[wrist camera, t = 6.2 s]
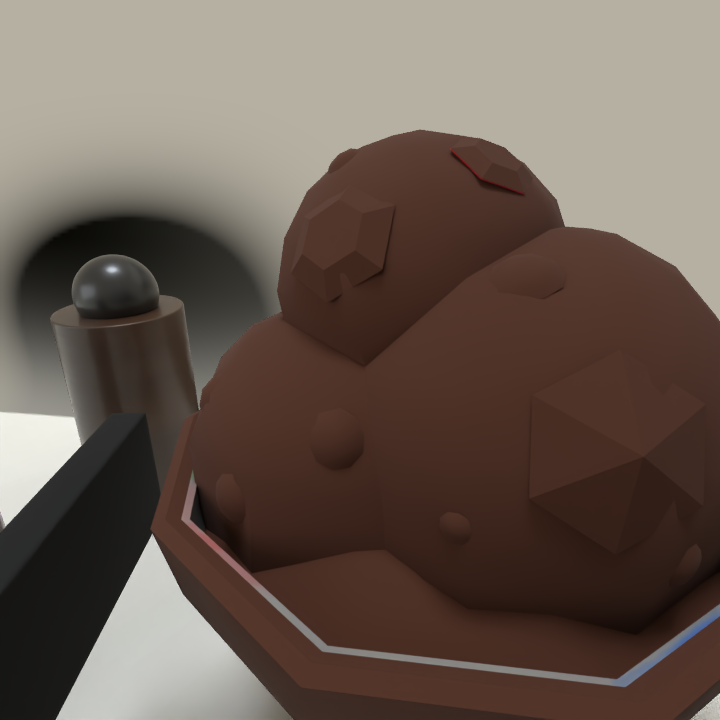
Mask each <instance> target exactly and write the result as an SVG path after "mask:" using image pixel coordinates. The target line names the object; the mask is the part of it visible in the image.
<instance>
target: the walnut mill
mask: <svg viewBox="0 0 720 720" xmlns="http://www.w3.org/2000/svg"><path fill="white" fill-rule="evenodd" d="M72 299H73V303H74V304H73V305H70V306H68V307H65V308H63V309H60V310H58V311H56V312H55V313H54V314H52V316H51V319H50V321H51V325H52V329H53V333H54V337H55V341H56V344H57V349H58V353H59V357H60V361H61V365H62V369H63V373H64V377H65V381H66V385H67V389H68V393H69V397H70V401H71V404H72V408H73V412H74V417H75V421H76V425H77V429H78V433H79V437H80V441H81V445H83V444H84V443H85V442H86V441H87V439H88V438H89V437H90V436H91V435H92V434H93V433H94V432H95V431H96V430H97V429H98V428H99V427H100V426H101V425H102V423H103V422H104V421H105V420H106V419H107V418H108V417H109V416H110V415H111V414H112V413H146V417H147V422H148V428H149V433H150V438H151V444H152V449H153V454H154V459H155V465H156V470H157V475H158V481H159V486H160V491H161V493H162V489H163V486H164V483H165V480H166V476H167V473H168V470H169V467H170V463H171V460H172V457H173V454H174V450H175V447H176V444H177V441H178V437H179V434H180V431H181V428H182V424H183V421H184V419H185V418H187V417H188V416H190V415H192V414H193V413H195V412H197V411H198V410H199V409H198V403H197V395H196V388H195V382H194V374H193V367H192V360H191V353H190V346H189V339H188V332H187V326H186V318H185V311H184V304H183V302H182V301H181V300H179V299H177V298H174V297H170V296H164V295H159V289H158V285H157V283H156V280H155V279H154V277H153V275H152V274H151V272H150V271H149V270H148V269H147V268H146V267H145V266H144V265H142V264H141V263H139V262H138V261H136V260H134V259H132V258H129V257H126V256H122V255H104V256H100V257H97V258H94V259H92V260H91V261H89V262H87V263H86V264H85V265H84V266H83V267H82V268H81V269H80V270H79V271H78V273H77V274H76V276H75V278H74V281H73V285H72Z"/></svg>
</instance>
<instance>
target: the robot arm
mask: <svg viewBox="0 0 720 720" xmlns="http://www.w3.org/2000/svg"><path fill="white" fill-rule="evenodd" d="M160 496H161V491H160V486H159V481H158V475H157V470H156V465H155V459H154V454H153V449H152V444H151V438H150V433H149V428H148V422H147V417H146V413H112V414H111V415H110V416H109V417H108V418H107V419H106V420H105V421H104V422H103V423H102V425H101V426H100V427H99V428H98V429H97V430H96V431H95V432H94V433H93V434H92V435H91V436H90V437H89V438H88V439H87V441H86V442H85V443H84V444H83V445H82V446H81V447H80V448H79V449H78V450H77V451H76V452H75V453H74V454H73V456H72V457H71V458H70V459H69V460H68V461H67V462H66V463H65V464H64V465H63V466H62V467H61V468H60V469H59V470H58V472H57V473H56V474H55V475H54V476H53V477H52V478H51V479H50V480H49V481H48V482H47V483H46V484H45V485H44V486H43V488H42V489H41V490H40V491H39V492H38V493H37V494H36V495H35V496H34V497H33V498H32V499H31V500H30V501H29V503H28V504H27V505H26V506H25V507H24V508H23V509H22V510H21V511H20V512H19V513H18V514H17V515H16V516H15V517H14V519H13V520H12V521H11V522H10V523H9V524H8V525H7V526H6V527H5V528H4V529H3V530H2V531H1V532H0V720H56V718H57V716H58V714H59V712H60V710H61V708H62V706H63V704H64V702H65V700H66V699H67V697H68V695H69V693H70V691H71V689H72V687H73V685H74V683H75V681H76V679H77V677H78V675H79V674H80V672H81V670H82V668H83V666H84V664H85V662H86V660H87V658H88V656H89V654H90V652H91V650H92V649H93V647H94V645H95V643H96V641H97V639H98V637H99V635H100V633H101V631H102V629H103V627H104V625H105V624H106V622H107V620H108V618H109V616H110V614H111V612H112V610H113V608H114V606H115V604H116V602H117V600H118V598H119V597H120V595H121V593H122V591H123V589H124V587H125V585H126V583H127V581H128V579H129V577H130V575H131V573H132V572H133V570H134V568H135V566H136V564H137V562H138V560H139V558H140V556H141V554H142V552H143V550H144V548H145V547H146V545H147V543H148V541H149V539H150V537H151V535H152V532H151V530H150V528H151V525H152V522H153V519H154V515H155V512H156V509H157V506H158V502H159V499H160Z"/></svg>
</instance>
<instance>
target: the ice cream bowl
mask: <svg viewBox="0 0 720 720" xmlns="http://www.w3.org/2000/svg"><path fill="white" fill-rule="evenodd" d="M277 292H278V297H279V301H280V305H281V310H282V312H280V313H278V314H276V315H274V316H271V317H269V318H267V319H264V320H263V321H260V322H258V323H255V324H253V325H252V326H251V327H250V328H249V329H248V330H247V331H246V332H245V333H244V334H243V335H242V336H241V337H240V338H239V339H238V340H237V341H236V342H235V343H234V345H233V346H232V347H231V348H230V349H229V350H228V351H227V352H226V353H225V354H224V355H223V356H222V357H221V359H220V362H219V364H218V367H217V369H216V372H215V374H214V376H213V378H212V379H211V380H210V381H209V382H208V383H207V385H206V386H205V387H204V388H203V389H202V395H201V400H200V408H201V409H200V410H198V411H197V412H195V413H193V414H192V415H190V416H188V417H187V418H185V419H184V421H183V424H182V428H181V431H180V434H179V437H178V441H177V444H176V447H175V450H174V454H173V457H172V460H171V463H170V467H169V470H168V473H167V476H166V480H165V483H164V486H163V489H162V493H161V496H160V499H159V502H158V506H157V509H156V512H155V515H154V519H153V522H152V525H151V528H150V530H151V532H152V534H153V535H154V537H155V539H156V541H157V543H158V545H159V547H160V549H161V551H162V553H163V555H164V557H165V559H166V561H167V563H168V565H169V567H170V569H171V571H172V573H173V575H174V577H175V579H176V581H177V583H178V585H179V587H180V589H181V591H182V593H183V595H184V596H185V597H186V598H187V599H188V600H189V601H190V603H191V604H192V605H193V606H194V607H195V608H196V609H197V610H198V612H199V613H200V614H201V615H202V616H203V617H204V618H205V620H206V621H207V622H208V623H209V624H210V625H211V626H212V627H213V629H214V630H215V631H216V632H217V633H218V634H219V635H220V637H221V638H222V639H223V640H224V641H225V642H226V643H227V644H228V646H229V647H230V648H231V649H232V650H233V651H234V652H235V653H236V655H237V656H238V657H239V658H240V659H241V660H242V661H243V663H244V664H245V665H246V666H247V667H248V668H249V669H250V670H251V672H252V673H253V674H254V675H255V676H256V677H257V678H258V680H259V681H260V682H261V683H262V684H263V685H264V686H265V687H266V689H267V690H268V691H269V692H270V693H271V694H272V695H273V696H274V698H275V699H276V700H277V701H278V702H279V703H280V704H281V706H282V707H283V708H284V709H285V710H286V711H287V712H288V713H289V715H290V716H291V717H292V718H293V719H294V720H690V719H691V718H692V717H693V716H694V715H695V714H697V713H698V712H699V711H700V710H701V709H702V708H703V707H704V706H706V705H707V704H708V703H709V702H710V701H711V700H712V699H714V698H715V697H716V696H717V695H718V694H719V693H720V321H719V319H718V318H717V317H716V315H715V314H714V313H713V312H712V310H711V309H710V308H709V307H708V305H707V304H706V303H705V302H704V301H703V299H702V298H701V297H700V296H699V295H698V293H697V292H696V291H695V290H694V288H693V287H692V286H691V285H690V284H689V282H688V281H687V280H686V279H685V277H684V276H683V275H682V274H681V273H680V271H679V270H678V269H677V268H676V267H675V266H674V265H672V264H670V263H668V262H666V261H664V260H663V259H661V258H659V257H657V256H655V255H654V254H652V253H650V252H648V251H646V250H645V249H643V248H641V247H639V246H637V245H635V244H634V243H632V242H630V241H628V240H627V239H625V238H623V237H621V236H619V235H618V234H614V233H609V232H604V231H599V230H594V229H588V228H575V227H565V226H564V222H563V219H562V216H561V213H560V209H559V206H558V203H557V200H556V199H555V197H554V196H553V195H552V194H551V193H550V192H549V191H548V190H547V188H546V187H545V186H544V185H543V184H542V183H541V182H540V181H539V179H538V178H537V177H536V176H535V175H534V174H533V173H532V172H531V170H530V169H529V168H528V167H527V166H526V165H525V164H524V163H523V162H521V161H519V160H518V159H516V157H514V156H513V155H512V154H511V153H510V152H508V150H507V149H506V148H504V147H502V146H499V145H496V144H494V143H491V142H489V141H486V140H483V139H480V138H472V137H466V136H460V135H453V134H446V133H439V132H433V131H425V130H416V131H412V132H407V133H403V134H398V135H393V136H391V137H388V138H385V139H382V140H380V141H377V142H374V143H371V144H369V145H366V146H363V147H361V148H359V149H349V150H347V151H345V152H343V153H341V154H339V155H338V156H337V157H336V158H335V159H334V160H333V161H332V163H331V164H330V166H329V170H328V172H327V173H326V174H325V175H324V176H323V177H322V178H321V179H320V180H319V181H318V182H317V183H316V184H314V185H313V186H312V187H311V188H310V189H309V190H308V192H307V193H306V195H305V197H304V199H303V201H302V203H301V205H300V207H299V209H298V211H297V213H296V216H295V217H294V219H293V222H292V224H291V226H290V228H289V230H288V232H287V234H286V236H285V238H284V245H283V252H282V260H281V267H280V275H279V282H278V290H277Z"/></svg>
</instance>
